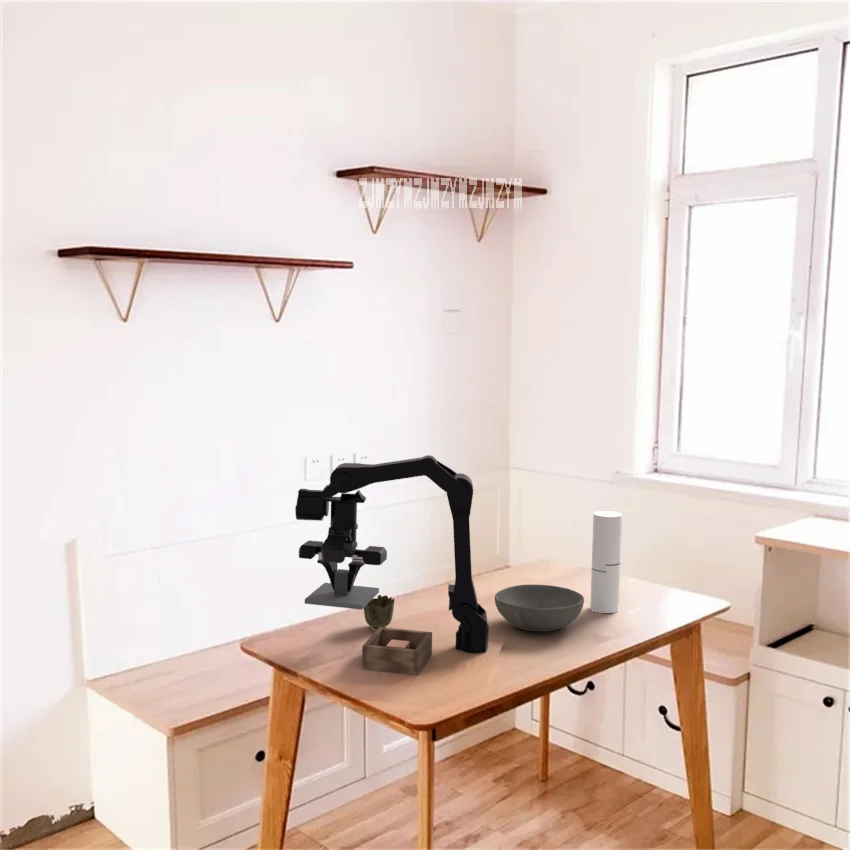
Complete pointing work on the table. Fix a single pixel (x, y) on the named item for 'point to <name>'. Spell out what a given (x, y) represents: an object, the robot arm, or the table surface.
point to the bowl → (539, 606)
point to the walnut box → (397, 651)
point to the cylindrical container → (606, 561)
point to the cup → (379, 612)
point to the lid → (342, 593)
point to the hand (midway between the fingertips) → (342, 590)
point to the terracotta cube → (399, 644)
